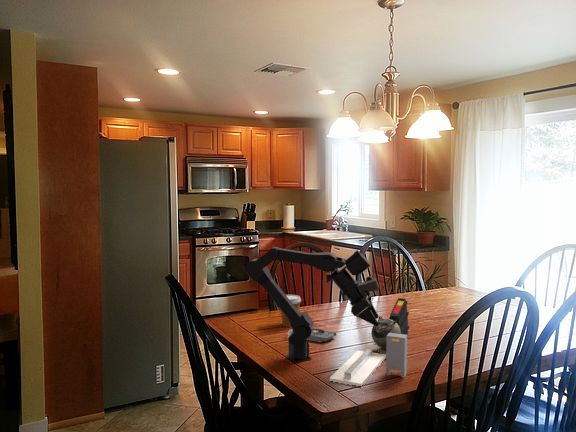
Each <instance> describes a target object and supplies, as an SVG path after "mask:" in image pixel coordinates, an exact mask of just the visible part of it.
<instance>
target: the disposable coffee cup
mask: <svg viewBox="0 0 576 432" xmlns="http://www.w3.org/2000/svg"><path fill="white" fill-rule="evenodd" d="M285 295H286V296H287V297H288V299H289V300H290V301H291V302H292V303H293V305H294V306H295V307H296V308H297V310H299V311H300V305H301V302H302V299H301V297H300V295H297V294H285ZM280 314H281V315H280V316H281V322H282V326H283V327H288V328H291V325H290V323H289V320H288V318H287V317H286V315H285V314H284V313H283V312H282V310H281V309H280Z"/></svg>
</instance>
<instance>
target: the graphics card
mask: <svg viewBox="0 0 576 432" xmlns="http://www.w3.org/2000/svg"><path fill="white" fill-rule="evenodd" d="M292 331H293V330H292V328H291V329H290V330H288V332H287V335H288V336H287V340H288V337H289V336H290V334H291V332H292ZM335 337H337V332H336V331H332V330H326V329H321V328H316V327H314V329H313V331H312V333H311V335H310V337H309V338H307V340H308V341H313V342H318V343H322V342H328V341H330V340H331V339H333V338H335Z"/></svg>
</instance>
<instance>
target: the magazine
mask: <svg viewBox="0 0 576 432" xmlns="http://www.w3.org/2000/svg"><path fill="white" fill-rule="evenodd" d="M407 304H408V300H407V299H406V298H400V297H399V298H397V300H396V302H395V304H394V306H393V308H392V310H391V312H390V314H389V317H388V319H390V320H392V321H394V320H397V322H396V323H397V324H398V326H399V328H400V331H401V334H404V335H407V336H408V335H409V330H410V325H409V317H408V316H409V315H410V313H409V312H410V311H408V305H407Z"/></svg>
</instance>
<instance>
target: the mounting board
mask: <svg viewBox="0 0 576 432" xmlns="http://www.w3.org/2000/svg"><path fill="white" fill-rule="evenodd" d="M365 351H366V350H357V351H355V353H354V354H352V356H351V357H349V358H348V359H347V360H346V361H345V363H343V365H341V367H339V368H338V370H336V371H335V372H334V373H333V374H332V375H331V376H330V377H329V382H330V381H333V382H332V383H335V382H338V383H337V384H341V383H344V384H343V385H347V384H349V385H348V386H352V385H356V386H355V387H358V386H362V385H363V384H364V383H365V384H366V382H367V381H368V380H369V379H370V378H371V376H372V375H373V374H374V373H375V372H376V370H377V369H378V368H379V367H380V365H381V364H382V361H383V362H384V361H385V359H386V354H382V353H379V352H377V353H376V352H373V355H372V356H371V357H370V358H369V360H368V361H367V362H366V363H365V364H364V365H363V366H362V367H361V368H360V370H359V371H358V372H357V373H356V374H355V375H354V376H353V377H352V378H351V379H347V378H344V372H345V371H346V370H347V369H348V368H349V367H350V366H351V365H352V364H353V363H354V362H355V361H356V360H357V359H358V358H359V357H360V356H361V355H362V354H363V353H364V352H365ZM377 367H378V368H377ZM376 368H377V369H376ZM373 372H374V373H373ZM372 373H373V374H372ZM369 377H370V378H369ZM368 378H369V379H368ZM367 379H368V380H367ZM365 384H364V385H365ZM364 385H363V386H364ZM363 386H362V387H363Z"/></svg>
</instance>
